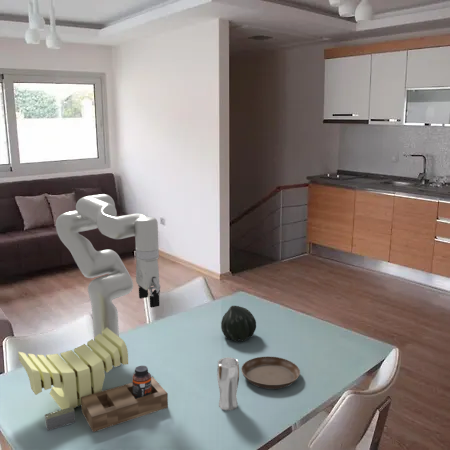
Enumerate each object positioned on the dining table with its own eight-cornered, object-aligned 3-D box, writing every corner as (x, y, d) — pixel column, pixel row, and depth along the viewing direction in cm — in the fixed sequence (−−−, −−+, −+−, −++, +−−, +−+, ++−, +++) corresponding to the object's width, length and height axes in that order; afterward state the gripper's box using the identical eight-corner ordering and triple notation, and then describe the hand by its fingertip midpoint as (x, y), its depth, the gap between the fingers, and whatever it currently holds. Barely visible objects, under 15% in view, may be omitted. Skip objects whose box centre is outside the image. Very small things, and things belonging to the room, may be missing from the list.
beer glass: (216, 399, 158) (216, 357, 155) (237, 398, 158) (238, 356, 155) (218, 412, 151) (217, 368, 148) (240, 411, 152) (240, 367, 149)
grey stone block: (46, 426, 144) (44, 414, 144) (73, 418, 148) (72, 406, 148) (47, 431, 142) (46, 419, 141) (75, 422, 146) (74, 410, 145)
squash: (268, 324, 203) (247, 295, 206) (250, 338, 191) (228, 307, 194) (246, 338, 211) (226, 310, 214) (228, 353, 199) (207, 323, 201)
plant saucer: (266, 358, 186) (266, 350, 185) (311, 377, 172) (311, 369, 171) (229, 377, 172) (229, 369, 171) (274, 400, 158) (274, 391, 157)
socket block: (81, 411, 151) (80, 397, 150) (152, 389, 164) (152, 376, 163) (93, 432, 141) (92, 417, 140) (167, 407, 154) (167, 393, 153)
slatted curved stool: (38, 426, 144) (33, 371, 141) (23, 402, 157) (18, 351, 153) (129, 392, 162) (127, 343, 158) (109, 373, 175) (106, 327, 171)
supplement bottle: (148, 406, 152) (146, 374, 150) (130, 404, 153) (128, 372, 151) (154, 396, 158) (153, 364, 156) (137, 394, 159) (135, 362, 157)
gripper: (127, 249, 168) (129, 296, 171) (146, 261, 153) (148, 312, 157) (147, 247, 171) (149, 292, 175) (168, 258, 157) (169, 308, 161)
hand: (149, 302), depth 166 cm, fingers open, 9 cm apart
